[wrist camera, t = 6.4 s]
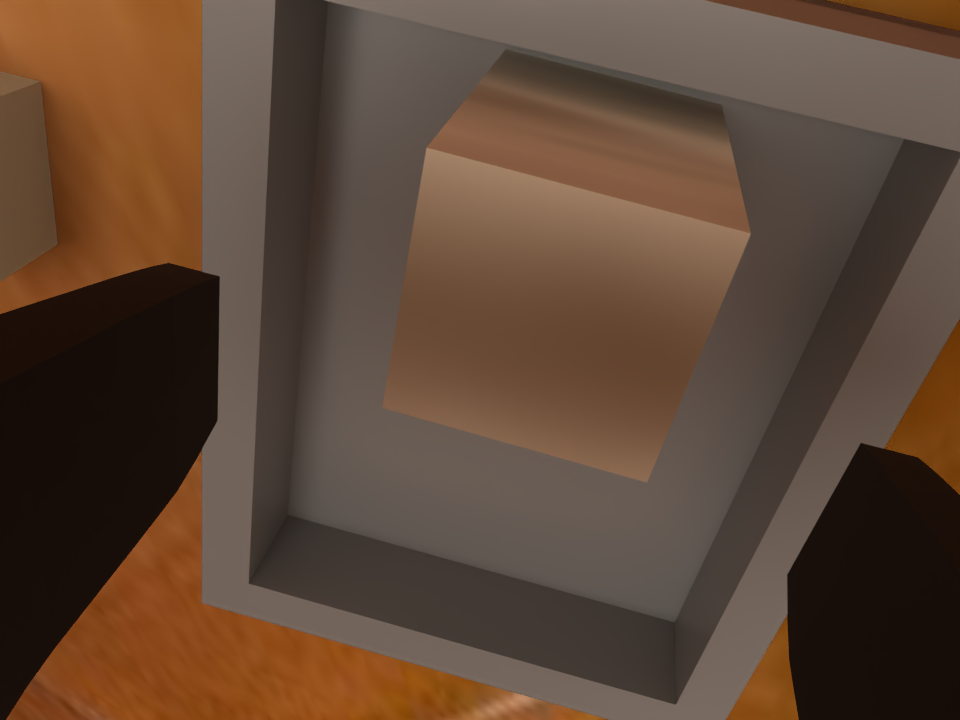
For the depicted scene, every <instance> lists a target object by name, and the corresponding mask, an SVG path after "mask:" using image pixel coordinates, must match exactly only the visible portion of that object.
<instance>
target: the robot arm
mask: <svg viewBox="0 0 960 720" xmlns="http://www.w3.org/2000/svg"><path fill="white" fill-rule="evenodd" d="M219 298H220V276H216V275H213V274H209V273H205V272H201V271H197V270H193V269H189V268H186V267H182V266H178V265H174V264H170V263H167V264H162V265H157V266H153V267H149V268H145V269H141V270H138V271H134V272H131V273H127V274H124V275H121V276H117V277H114V278H111V279H108V280H105V281H102V282H98V283H95V284H92V285H89V286H86V287H83V288H80V289H77V290H74V291H71V292H68V293H65V294H62V295H58V296H55V297H52V298H49V299H46V300H43V301H40V302H37V303H34V304H31V305H27V306H24V307H21V308H18V309H15V310H12V311H9V312H6V313H3V314H0V720H6V719H7V717H8V716H9V714H10V712H11V711H12V709H13V708H14V706H15V705H16V703H17V701H18V700H19V698H20V697H21V695H22V694H23V692H24V690H25V689H26V687H27V686H28V684H29V683H30V682H31V680H32V679H33V677H34V676H35V675H36V673H37V672H38V671H39V669H40V668H41V666H42V665H43V664H44V662H45V661H46V659H47V658H48V657H49V655H50V654H51V653H52V651H53V650H54V648H55V647H56V646H57V644H58V643H59V642H60V641H61V639H62V638H63V637H64V636H65V634H66V633H67V632H68V631H69V629H70V628H71V627H72V625H73V624H74V623H75V622H76V620H77V619H78V618H79V617H80V615H81V614H82V613H83V611H84V610H85V609H86V608H87V606H88V605H89V604H90V603H91V601H92V600H93V599H94V597H95V596H96V595H97V594H98V592H99V591H100V590H101V589H102V587H103V586H104V585H105V583H106V582H107V581H108V580H109V578H110V577H111V576H112V575H113V573H114V572H115V571H116V569H117V568H118V567H119V566H120V564H121V563H122V562H123V561H124V559H125V558H126V557H127V555H128V554H129V553H130V552H131V550H132V549H133V548H134V547H135V545H136V544H137V543H138V541H139V540H140V539H141V538H142V536H143V535H144V534H145V532H146V531H147V530H148V528H149V527H150V526H151V525H152V523H153V522H154V521H155V519H156V518H157V517H158V516H159V514H160V513H161V512H162V510H163V509H164V508H165V506H166V505H167V504H168V502H169V501H170V500H171V498H172V497H173V496H174V494H175V493H176V492H177V490H178V489H179V487H180V485H181V484H182V482H183V480H184V479H185V477H186V475H187V474H188V472H189V470H190V469H191V467H192V465H193V464H194V462H195V460H196V459H197V457H198V455H199V453H200V452H201V450H202V448H203V446H204V444H205V443H206V441H207V439H208V437H209V435H210V434H211V432H212V430H213V428H214V426H215V425H216V423H217V421H218V364H219ZM787 610H788V641H789V660H790V667H791V674H792V680H793V687H794V693H795V699H796V705H797V711H798V717H799V720H960V495H959V494H958V493H957V492H956V491H955V490H954V489H953V488H952V487H951V486H950V485H949V484H947V483H946V482H945V481H944V480H943V479H942V478H941V477H940V476H939V475H938V474H937V473H936V472H935V471H933V470H932V469H931V468H930V467H929V466H928V465H926V464H925V463H924V462H923V461H922V460H920V459H919V458H917V457H914V456H910V455H906V454H902V453H898V452H894V451H890V450H887V449H883V448H879V447H875V446H871V445H867V444H863V443H860V445H859V447H858V449H857V451H856V452H855V454H854V456H853V458H852V460H851V461H850V463H849V465H848V467H847V468H846V470H845V472H844V474H843V476H842V477H841V479H840V481H839V483H838V485H837V486H836V488H835V490H834V492H833V494H832V495H831V497H830V499H829V501H828V502H827V504H826V506H825V508H824V510H823V511H822V513H821V515H820V517H819V519H818V520H817V522H816V524H815V526H814V527H813V529H812V531H811V533H810V535H809V536H808V538H807V540H806V542H805V544H804V545H803V547H802V549H801V551H800V553H799V554H798V556H797V558H796V560H795V561H794V563H793V565H792V567H791V569H790V570H789V572H788V574H787Z"/></svg>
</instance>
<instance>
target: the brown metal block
mask: <svg viewBox="0 0 960 720" xmlns="http://www.w3.org/2000/svg"><path fill="white" fill-rule="evenodd" d="M750 235H751V232H750V227H749V223H748V219H747V214H746V210H745V205H744V201H743V197H742V192H741V188H740V183H739V179H738V175H737V170H736V166H735V161H734V157H733V152H732V148H731V144H730V139H729V135H728V130H727V126H726V122H725V117H724V113H723V108H722V105H721V104H717V103H714V102H710V101H706V100H702V99H698V98H694V97H690V96H686V95H682V94H679V93H675V92H671V91H667V90H663V89H659V88H655V87H651V86H647V85H644V84H640V83H636V82H632V81H628V80H624V79H620V78H616V77H613V76H609V75H605V74H601V73H597V72H593V71H589V70H585V69H581V68H578V67H574V66H570V65H566V64H562V63H558V62H554V61H550V60H547V59H543V58H539V57H535V56H531V55H527V54H523V53H519V52H515V51H512V50H508V49H506V50H505V51H504V52H503V53H502V55H501V56H500V57H499V58H498V60H497V61H496V62H495V63H494V65H493V66H492V67H491V68H490V70H489V71H488V72H487V73H486V74H485V76H484V77H483V78H482V79H481V81H480V82H479V83H478V84H477V86H476V87H475V88H474V89H473V91H472V92H471V93H470V94H469V96H468V97H467V98H466V99H465V101H464V102H463V103H462V104H461V106H460V107H459V108H458V109H457V110H456V112H455V113H454V114H453V115H452V117H451V118H450V119H449V120H448V122H447V123H446V124H445V125H444V127H443V128H442V129H441V130H440V132H439V133H438V134H437V135H436V137H435V138H434V139H433V140H432V142H431V143H430V144H429V145H428V146H427V148H426V154H425V160H424V166H423V171H422V177H421V183H420V189H419V195H418V201H417V206H416V212H415V218H414V224H413V230H412V236H411V242H410V247H409V253H408V259H407V265H406V271H405V277H404V283H403V288H402V294H401V300H400V306H399V312H398V318H397V323H396V329H395V335H394V341H393V347H392V353H391V359H390V364H389V370H388V376H387V382H386V388H385V394H384V399H383V405H382V408H384V409H388V410H392V411H395V412H399V413H402V414H406V415H409V416H413V417H416V418H420V419H423V420H427V421H431V422H434V423H438V424H441V425H445V426H448V427H452V428H455V429H459V430H462V431H466V432H469V433H473V434H477V435H480V436H484V437H487V438H491V439H494V440H498V441H501V442H505V443H508V444H512V445H516V446H519V447H523V448H526V449H530V450H533V451H537V452H540V453H544V454H547V455H551V456H554V457H558V458H562V459H565V460H569V461H572V462H576V463H579V464H583V465H586V466H590V467H593V468H597V469H601V470H604V471H608V472H611V473H615V474H618V475H622V476H625V477H629V478H632V479H636V480H640V481H643V482H648V479H649V477H650V474H651V472H652V470H653V467H654V465H655V462H656V460H657V458H658V455H659V453H660V450H661V448H662V446H663V443H664V441H665V438H666V436H667V434H668V431H669V429H670V426H671V424H672V422H673V419H674V417H675V414H676V412H677V410H678V407H679V405H680V402H681V400H682V398H683V395H684V393H685V390H686V388H687V386H688V383H689V381H690V378H691V376H692V374H693V371H694V369H695V366H696V364H697V362H698V359H699V357H700V354H701V352H702V350H703V347H704V345H705V342H706V340H707V338H708V335H709V333H710V330H711V328H712V326H713V323H714V321H715V319H716V316H717V314H718V311H719V309H720V307H721V304H722V302H723V299H724V297H725V295H726V292H727V290H728V287H729V285H730V283H731V280H732V278H733V275H734V273H735V271H736V268H737V266H738V263H739V261H740V259H741V256H742V254H743V251H744V249H745V247H746V244H747V242H748V239H749V237H750Z"/></svg>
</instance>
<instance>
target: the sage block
mask: <svg viewBox="0 0 960 720" xmlns="http://www.w3.org/2000/svg"><path fill="white" fill-rule="evenodd" d="M56 245H58V241H57V231H56V222H55V212H54V202H53V193H52V183H51V174H50V164H49V155H48V145H47V136H46V126H45V117H44V107H43V98H42V88H41V81H38V80H34V79H30V78H26V77H22V76H18V75H14V74H10V73H5V72H1V71H0V282H1V281H2V280H4V279H5V278H7V277H8V276H10V275H11V274H13V273H15V272H16V271H18V270H19V269H21V268H22V267H24V266H25V265H27V264H28V263H30V262H32V261H33V260H35V259H36V258H38V257H39V256H41V255H42V254H44V253H45V252H47V251H49V250H50V249H52V248H53V247H55V246H56Z"/></svg>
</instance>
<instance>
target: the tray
mask: <svg viewBox="0 0 960 720" xmlns="http://www.w3.org/2000/svg"><path fill="white" fill-rule="evenodd" d="M506 49H508V50H512V51H515V52H519V53H523V54H527V55H531V56H535V57H539V58H543V59H547V60H550V61H554V62H558V63H562V64H566V65H570V66H574V67H578V68H581V69H585V70H589V71H593V72H597V73H601V74H605V75H609V76H613V77H616V78H620V79H624V80H628V81H632V82H636V83H640V84H644V85H647V86H651V87H655V88H659V89H663V90H667V91H671V92H675V93H679V94H682V95H686V96H690V97H694V98H698V99H702V100H706V101H710V102H714V103H717V104H721V105H722V108H723V113H724V117H725V122H726V126H727V130H728V135H729V139H730V144H731V148H732V152H733V157H734V161H735V166H736V170H737V175H738V179H739V183H740V188H741V192H742V197H743V201H744V205H745V210H746V214H747V219H748V223H749V227H750V232H751V235H750V237H749V239H748V242H747V244H746V247H745V249H744V251H743V254H742V256H741V259H740V261H739V263H738V266H737V268H736V271H735V273H734V275H733V278H732V280H731V283H730V285H729V287H728V290H727V292H726V295H725V297H724V299H723V302H722V304H721V307H720V309H719V311H718V314H717V316H716V319H715V321H714V323H713V326H712V328H711V330H710V333H709V335H708V338H707V340H706V342H705V345H704V347H703V350H702V352H701V354H700V357H699V359H698V362H697V364H696V366H695V369H694V371H693V374H692V376H691V378H690V381H689V383H688V386H687V388H686V390H685V393H684V395H683V398H682V400H681V402H680V405H679V407H678V410H677V412H676V414H675V417H674V419H673V422H672V424H671V426H670V429H669V431H668V434H667V436H666V438H665V441H664V443H663V446H662V448H661V450H660V453H659V455H658V458H657V460H656V462H655V465H654V467H653V470H652V472H651V474H650V477H649V479H648V482H643V481H640V480H636V479H632V478H629V477H625V476H622V475H618V474H615V473H611V472H608V471H604V470H601V469H597V468H593V467H590V466H586V465H583V464H579V463H576V462H572V461H569V460H565V459H562V458H558V457H554V456H551V455H547V454H544V453H540V452H537V451H533V450H530V449H526V448H523V447H519V446H516V445H512V444H508V443H505V442H501V441H498V440H494V439H491V438H487V437H484V436H480V435H477V434H473V433H469V432H466V431H462V430H459V429H455V428H452V427H448V426H445V425H441V424H438V423H434V422H431V421H427V420H423V419H420V418H416V417H413V416H409V415H406V414H402V413H399V412H395V411H392V410H388V409H384V408H382V405H383V399H384V394H385V388H386V382H387V376H388V370H389V364H390V359H391V353H392V347H393V341H394V335H395V329H396V323H397V318H398V312H399V306H400V300H401V294H402V288H403V283H404V277H405V271H406V265H407V259H408V253H409V247H410V242H411V236H412V230H413V224H414V218H415V212H416V206H417V201H418V195H419V189H420V183H421V177H422V171H423V166H424V160H425V154H426V148H427V146H428V145H429V144H430V143H431V142H432V140H433V139H434V138H435V137H436V135H437V134H438V133H439V132H440V130H441V129H442V128H443V127H444V125H445V124H446V123H447V122H448V120H449V119H450V118H451V117H452V115H453V114H454V113H455V112H456V110H457V109H458V108H459V107H460V106H461V104H462V103H463V102H464V101H465V99H466V98H467V97H468V96H469V94H470V93H471V92H472V91H473V89H474V88H475V87H476V86H477V84H478V83H479V82H480V81H481V79H482V78H483V77H484V76H485V74H486V73H487V72H488V71H489V70H490V68H491V67H492V66H493V65H494V63H495V62H496V61H497V60H498V58H499V57H500V56H501V55H502V53H503V52H504V51H505V50H506ZM202 272H205V273H209V274H213V275H216V276H220V298H219V364H218V421H217V423H216V425H215V426H214V428H213V430H212V432H211V434H210V435H209V437H208V439H207V441H206V443H205V444H204V446H203V448H202V603H204V604H207V605H210V606H214V607H217V608H221V609H224V610H228V611H231V612H235V613H238V614H242V615H245V616H249V617H252V618H256V619H259V620H263V621H266V622H270V623H273V624H277V625H280V626H284V627H287V628H291V629H294V630H298V631H301V632H305V633H308V634H312V635H315V636H319V637H322V638H326V639H329V640H333V641H336V642H340V643H343V644H347V645H350V646H354V647H357V648H361V649H364V650H368V651H371V652H375V653H378V654H382V655H385V656H389V657H392V658H396V659H399V660H403V661H406V662H410V663H413V664H417V665H420V666H424V667H427V668H431V669H434V670H438V671H441V672H445V673H448V674H452V675H455V676H459V677H462V678H466V679H469V680H473V681H476V682H480V683H483V684H487V685H490V686H494V687H497V688H500V689H504V690H507V691H511V692H514V693H518V694H521V695H525V696H528V697H532V698H535V699H539V700H542V701H546V702H549V703H553V704H556V705H560V706H563V707H567V708H570V709H574V710H577V711H581V712H584V713H588V714H591V715H595V716H598V717H602V718H605V719H609V720H726V718H727V717H728V715H729V713H730V712H731V710H732V708H733V706H734V705H735V703H736V701H737V700H738V698H739V696H740V694H741V693H742V691H743V689H744V688H745V686H746V684H747V682H748V681H749V679H750V677H751V676H752V674H753V672H754V670H755V669H756V667H757V665H758V664H759V662H760V660H761V658H762V657H763V655H764V653H765V652H766V650H767V648H768V646H769V645H770V643H771V641H772V640H773V638H774V636H775V634H776V633H777V631H778V629H779V628H780V626H781V624H782V622H783V621H784V619H785V617H786V616H787V614H788V610H787V574H788V572H789V570H790V569H791V567H792V565H793V563H794V561H795V560H796V558H797V556H798V554H799V553H800V551H801V549H802V547H803V545H804V544H805V542H806V540H807V538H808V536H809V535H810V533H811V531H812V529H813V527H814V526H815V524H816V522H817V520H818V519H819V517H820V515H821V513H822V511H823V510H824V508H825V506H826V504H827V502H828V501H829V499H830V497H831V495H832V494H833V492H834V490H835V488H836V486H837V485H838V483H839V481H840V479H841V477H842V476H843V474H844V472H845V470H846V468H847V467H848V465H849V463H850V461H851V460H852V458H853V456H854V454H855V452H856V451H857V449H858V447H859V445H860V443H863V444H867V445H871V446H875V447H879V448H883V449H884V447H885V446H886V444H887V442H888V441H889V439H890V437H891V435H892V434H893V432H894V430H895V429H896V427H897V425H898V423H899V422H900V420H901V418H902V417H903V415H904V413H905V411H906V410H907V408H908V406H909V405H910V403H911V401H912V399H913V398H914V396H915V394H916V393H917V391H918V389H919V387H920V386H921V384H922V382H923V381H924V379H925V377H926V375H927V374H928V372H929V370H930V369H931V367H932V365H933V363H934V362H935V360H936V358H937V357H938V355H939V353H940V351H941V350H942V348H943V346H944V345H945V343H946V341H947V339H948V338H949V336H950V334H951V333H952V331H953V329H954V327H955V326H956V324H957V322H958V321H959V319H960V31H956V30H952V29H947V28H943V27H939V26H934V25H930V24H926V23H921V22H917V21H913V20H908V19H904V18H900V17H895V16H891V15H887V14H882V13H878V12H873V11H869V10H865V9H860V8H856V7H852V6H847V5H843V4H839V3H834V2H830V1H826V0H202Z"/></svg>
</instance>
